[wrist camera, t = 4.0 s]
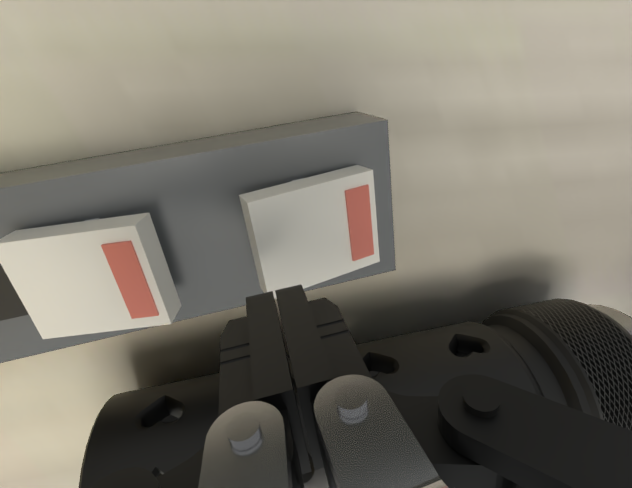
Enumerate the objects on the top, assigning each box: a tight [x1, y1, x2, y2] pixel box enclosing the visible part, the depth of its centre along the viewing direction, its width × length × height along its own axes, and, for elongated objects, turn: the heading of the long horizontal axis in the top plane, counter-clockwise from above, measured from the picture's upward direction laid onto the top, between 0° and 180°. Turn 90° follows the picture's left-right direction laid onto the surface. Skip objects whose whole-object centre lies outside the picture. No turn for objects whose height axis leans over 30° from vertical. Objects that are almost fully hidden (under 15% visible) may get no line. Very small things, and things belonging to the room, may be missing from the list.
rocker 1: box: [0, 213, 182, 339], centre depth 14 cm, size 5×4×1 cm
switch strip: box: [0, 112, 396, 363], centre depth 17 cm, size 18×7×4 cm, turn 98°
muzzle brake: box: [79, 299, 632, 488], centre depth 21 cm, size 10×28×10 cm, turn 94°
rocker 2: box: [239, 165, 380, 299], centre depth 15 cm, size 5×4×1 cm
